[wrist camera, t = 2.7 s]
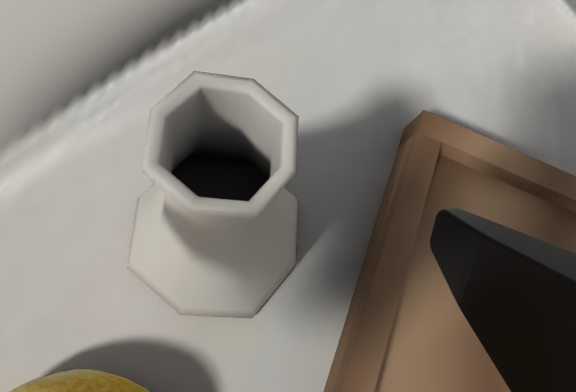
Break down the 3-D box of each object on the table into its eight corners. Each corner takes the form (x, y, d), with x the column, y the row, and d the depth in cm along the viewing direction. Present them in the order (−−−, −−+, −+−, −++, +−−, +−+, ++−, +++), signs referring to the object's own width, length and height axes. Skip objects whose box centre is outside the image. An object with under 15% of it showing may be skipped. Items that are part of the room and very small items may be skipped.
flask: (176, 130, 19) (140, -59, 9) (321, 192, 19) (429, 73, 10) (96, 281, 16) (-61, 233, 7) (263, 348, 17) (329, 389, 7)
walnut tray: (660, 239, 22) (703, 232, 20) (640, 572, 17) (693, 605, 15) (404, 128, 21) (423, 109, 19) (306, 448, 16) (319, 465, 14)
